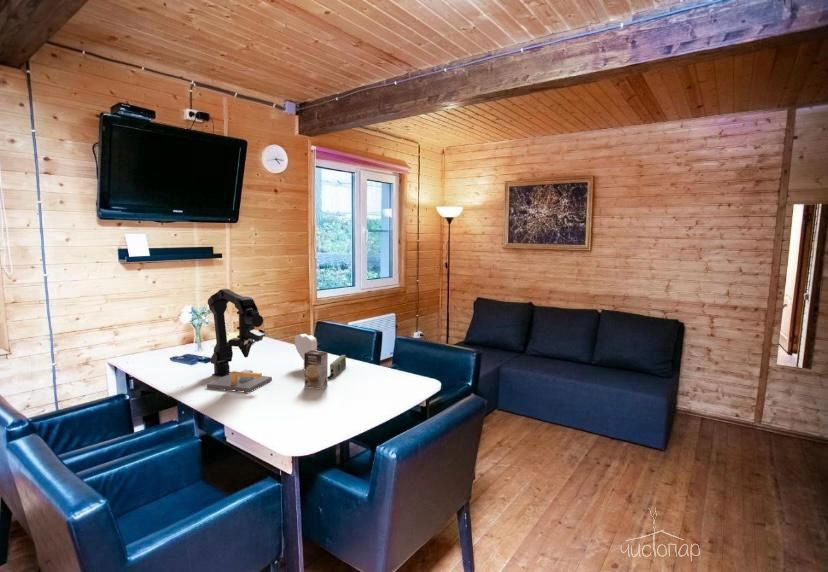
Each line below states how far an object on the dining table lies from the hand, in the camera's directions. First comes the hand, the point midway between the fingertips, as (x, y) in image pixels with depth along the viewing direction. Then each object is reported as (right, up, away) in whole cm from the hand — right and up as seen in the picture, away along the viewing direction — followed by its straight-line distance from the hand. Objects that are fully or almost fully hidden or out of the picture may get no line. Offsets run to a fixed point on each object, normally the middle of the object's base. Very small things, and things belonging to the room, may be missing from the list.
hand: (246, 357), depth 208 cm
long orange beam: (+3, -11, -8) cm, 14 cm away
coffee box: (+33, -14, -1) cm, 36 cm away
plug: (0, -13, +1) cm, 13 cm away
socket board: (-3, -13, 0) cm, 13 cm away
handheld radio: (+39, -12, +21) cm, 45 cm away
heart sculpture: (+21, -11, +28) cm, 36 cm away
